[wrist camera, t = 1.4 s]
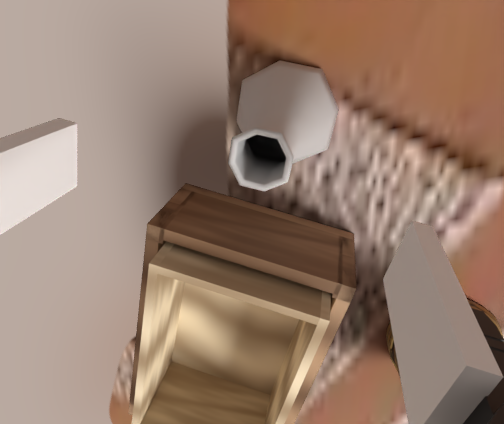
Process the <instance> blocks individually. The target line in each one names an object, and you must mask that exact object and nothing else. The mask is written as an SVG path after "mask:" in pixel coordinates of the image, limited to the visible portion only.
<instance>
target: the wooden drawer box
mask: <svg viewBox="0 0 504 424" xmlns="http://www.w3.org/2000/svg"><path fill="white" fill-rule="evenodd" d="M166 241H167V242H170V243H173V244H176V245H180V246H183V247H186V248H189V249H192V250H195V251H199V252H202V253H205V254H208V255H211V256H214V257H218V258H221V259H224V260H227V261H230V262H234V263H237V264H240V265H243V266H246V267H249V268H253V269H256V270H259V271H262V272H265V273H269V274H272V275H275V276H278V277H281V278H284V279H288V280H291V281H294V282H297V283H300V284H303V285H307V286H310V287H313V288H316V289H319V290H323V291H326V292H329V293H331V307H330V322H329V324H328V327H327V329H326V331H325V333H324V336H323V338H322V340H321V342H320V345H319V347H318V349H317V351H316V354H315V356H314V358H313V360H312V363H311V365H310V367H309V369H308V372H307V374H306V376H305V378H304V381H303V383H302V385H301V387H300V390H299V392H298V394H297V396H296V399H295V401H294V403H293V405H292V408H291V410H290V412H289V415H288V417H287V419H286V421H285V424H294V423H295V420H296V418H297V416H298V414H299V412H300V410H301V408H302V405H303V403H304V401H305V399H306V397H307V395H308V392H309V390H310V388H311V386H312V384H313V382H314V380H315V377H316V375H317V373H318V371H319V369H320V367H321V364H322V362H323V360H324V358H325V356H326V354H327V352H328V349H329V347H330V345H331V343H332V341H333V339H334V337H335V334H336V332H337V330H338V328H339V326H340V324H341V321H342V319H343V317H344V315H345V313H346V311H347V309H348V306H349V304H350V302H351V300H352V298H353V296H354V293H355V291H356V289H357V288H356V268H355V249H354V234H353V233H350V232H347V231H343V230H340V229H337V228H333V227H330V226H327V225H323V224H320V223H317V222H313V221H310V220H307V219H303V218H300V217H297V216H293V215H290V214H287V213H283V212H280V211H277V210H273V209H270V208H267V207H263V206H260V205H257V204H253V203H250V202H247V201H243V200H240V199H237V198H233V197H230V196H226V195H223V194H220V193H216V192H213V191H210V190H207V189H203V188H200V187H197V186H193V185H190V184H187V183H186V184H185V185H184V186H183V187H182V188H181V189H180V190H179V191H178V192H177V193H176V194H175V195H174V196H173V197H172V198H171V200H170V201H169V202H168V203H167V204H166V205H165V206H164V207H163V208H162V209H161V210H160V211H159V212H158V213H157V214H156V215H155V216H154V217H153V218H152V219H151V220H150V222H149V223H148V224H147V233H146V244H145V254H144V263H143V273H142V283H141V294H140V303H139V314H138V323H137V333H136V344H135V354H134V364H133V374H132V384H131V394H130V404H129V414H130V415H133V407H134V398H135V389H136V380H137V371H138V361H139V352H140V343H141V334H142V324H143V315H144V306H145V297H146V287H147V278H148V269H149V263H150V261H151V260H152V259H153V258H154V256H155V255H156V254H157V253H158V251H159V250H160V249H161V248H162V246H163V245H164V244H165V242H166Z"/></svg>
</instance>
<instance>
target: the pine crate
mask: <svg viewBox="0 0 504 424" xmlns="http://www.w3.org/2000/svg"><path fill="white" fill-rule="evenodd" d="M330 307H331V293H329V292H326V291H323V290H319V289H316V288H313V287H310V286H307V285H303V284H300V283H297V282H294V281H291V280H288V279H284V278H281V277H278V276H275V275H272V274H269V273H265V272H262V271H259V270H256V269H253V268H249V267H246V266H243V265H240V264H237V263H234V262H230V261H227V260H224V259H221V258H218V257H214V256H211V255H208V254H205V253H202V252H199V251H195V250H192V249H189V248H186V247H183V246H180V245H176V244H173V243H170V242H167V241H166V242H165V244H164V245H163V246H162V248H161V249H160V250H159V251H158V253H157V254H156V255H155V256H154V258H153V259H152V260H151V261H150V263H149V269H148V278H147V287H146V297H145V306H144V315H143V324H142V334H141V343H140V352H139V361H138V371H137V380H136V389H135V398H134V407H133V417H132V424H285V421H286V419H287V417H288V415H289V412H290V410H291V408H292V405H293V403H294V401H295V399H296V396H297V394H298V392H299V390H300V387H301V385H302V383H303V381H304V378H305V376H306V374H307V372H308V369H309V367H310V365H311V363H312V360H313V358H314V356H315V354H316V351H317V349H318V347H319V345H320V342H321V340H322V338H323V336H324V333H325V331H326V329H327V327H328V324H329V322H330Z"/></svg>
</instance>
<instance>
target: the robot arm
mask: <svg viewBox="0 0 504 424" xmlns="http://www.w3.org/2000/svg"><path fill="white" fill-rule="evenodd" d="M75 187H77V123H74V122H71V121H68V120H64V119H61V118H58V119H55V120H52V121H49V122H46V123H43V124H40V125H37V126H35V127H31V128H29V129H26V130H23V131H20V132H17V133H14V134H11V135H8V136H5V137H2V138H0V234H2V233H4V232H5V231H7V230H8V229H10V228H12V227H13V226H15V225H17V224H18V223H20V222H21V221H23V220H24V219H26V218H28V217H29V216H31V215H32V214H34V213H36V212H37V211H39V210H40V209H42V208H43V207H45V206H47V205H48V204H50V203H52V202H53V201H55V200H56V199H58V198H60V197H61V196H63V195H64V194H66V193H67V192H69V191H71V190H72V189H74V188H75ZM383 282H384V288H385V294H386V299H387V305H388V311H389V316H390V322H391V328H392V333H393V339H394V344H395V350H396V356H397V361H398V367H399V373H400V378H401V384H402V390H403V395H404V401H405V406H406V412H407V418H408V423H409V424H504V339H503V337H502V335H501V333H500V331H499V329H498V327H497V326H496V325H495V324H494V322H493V321H492V320H491V319H490V318H489V317H488V316H487V315H486V314H485V313H484V312H483V311H480V310H477V309H474V308H471V307H470V305H469V302H468V300H467V298H466V296H465V294H464V292H463V290H462V287H461V285H460V283H459V281H458V279H457V277H456V275H455V273H454V270H453V268H452V266H451V264H450V262H449V260H448V258H447V255H446V253H445V251H444V249H443V247H442V245H441V243H440V241H439V238H438V236H437V234H436V232H435V230H434V228H433V226H430V225H426V224H423V223H419V222H416V221H411V223H410V225H409V227H408V229H407V231H406V233H405V235H404V237H403V239H402V241H401V243H400V245H399V247H398V249H397V252H396V254H395V256H394V258H393V260H392V262H391V264H390V266H389V268H388V270H387V272H386V274H385V276H384V278H383Z"/></svg>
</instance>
